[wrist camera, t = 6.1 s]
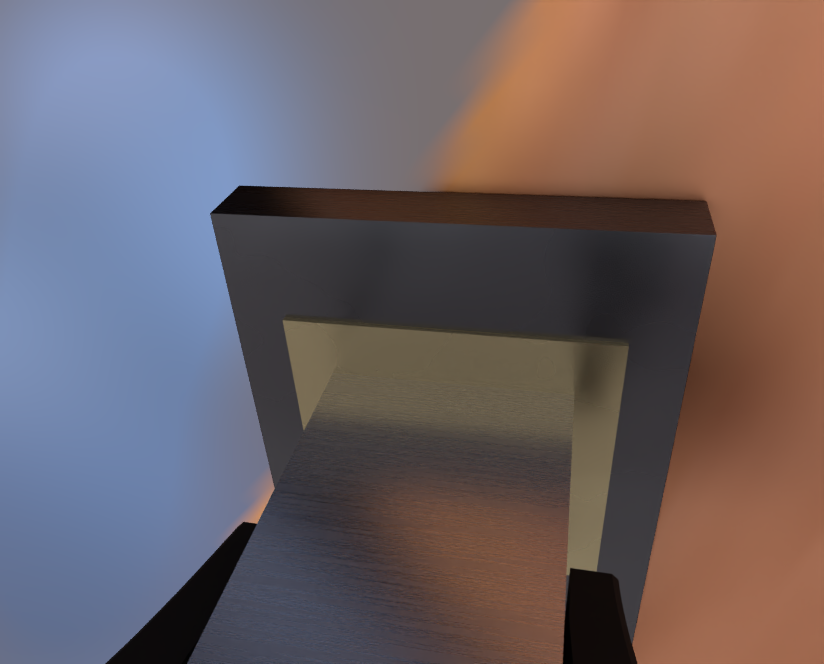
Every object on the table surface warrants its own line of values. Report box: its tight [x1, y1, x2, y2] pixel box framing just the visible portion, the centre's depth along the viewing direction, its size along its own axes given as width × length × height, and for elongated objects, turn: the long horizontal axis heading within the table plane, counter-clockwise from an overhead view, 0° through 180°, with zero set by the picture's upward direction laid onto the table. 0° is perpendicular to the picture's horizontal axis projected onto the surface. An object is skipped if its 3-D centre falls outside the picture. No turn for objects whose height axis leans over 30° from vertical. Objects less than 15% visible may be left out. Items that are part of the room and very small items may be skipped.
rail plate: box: [210, 186, 716, 643], centre depth 18 cm, size 8×22×1 cm, turn 4°
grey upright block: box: [187, 373, 574, 664], centre depth 11 cm, size 4×4×6 cm
